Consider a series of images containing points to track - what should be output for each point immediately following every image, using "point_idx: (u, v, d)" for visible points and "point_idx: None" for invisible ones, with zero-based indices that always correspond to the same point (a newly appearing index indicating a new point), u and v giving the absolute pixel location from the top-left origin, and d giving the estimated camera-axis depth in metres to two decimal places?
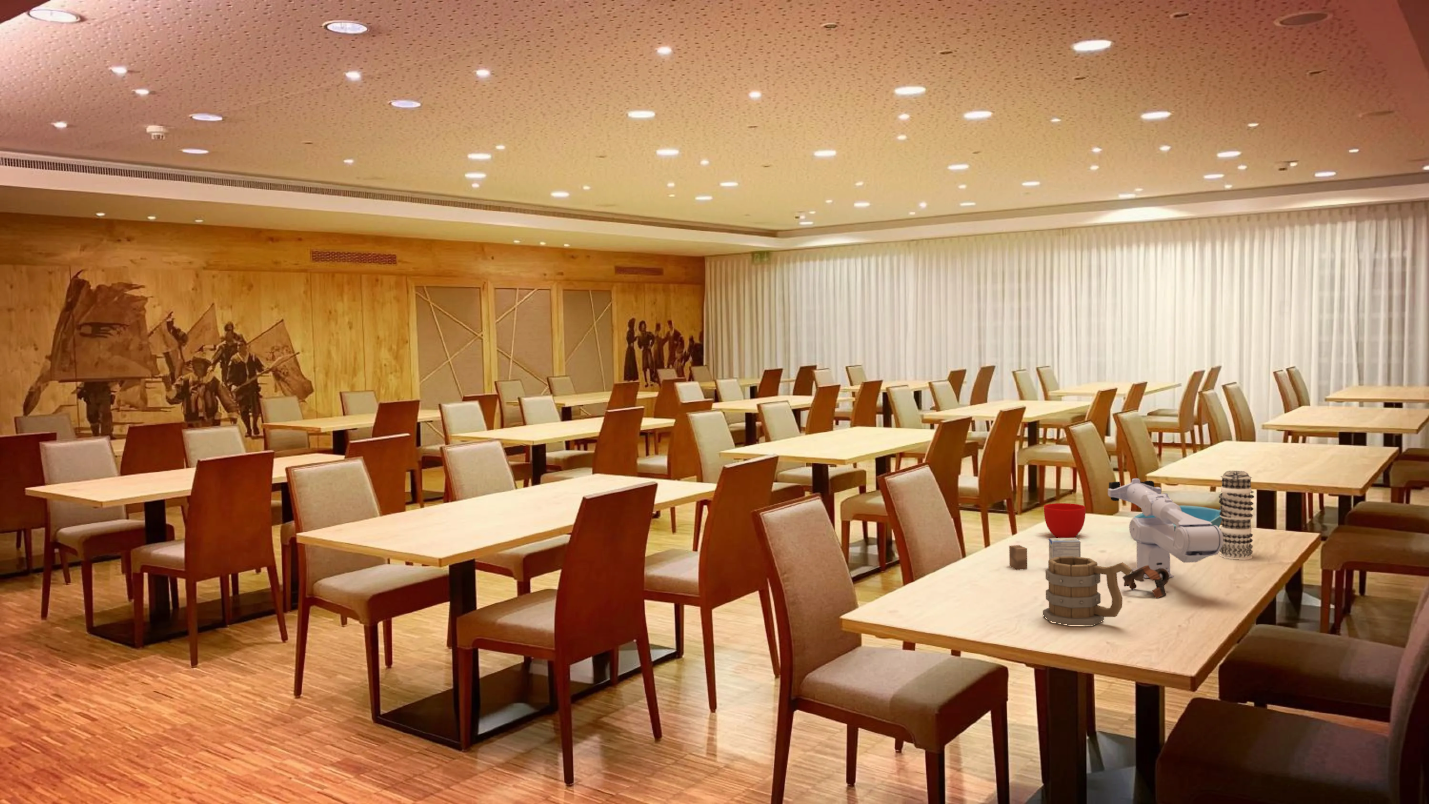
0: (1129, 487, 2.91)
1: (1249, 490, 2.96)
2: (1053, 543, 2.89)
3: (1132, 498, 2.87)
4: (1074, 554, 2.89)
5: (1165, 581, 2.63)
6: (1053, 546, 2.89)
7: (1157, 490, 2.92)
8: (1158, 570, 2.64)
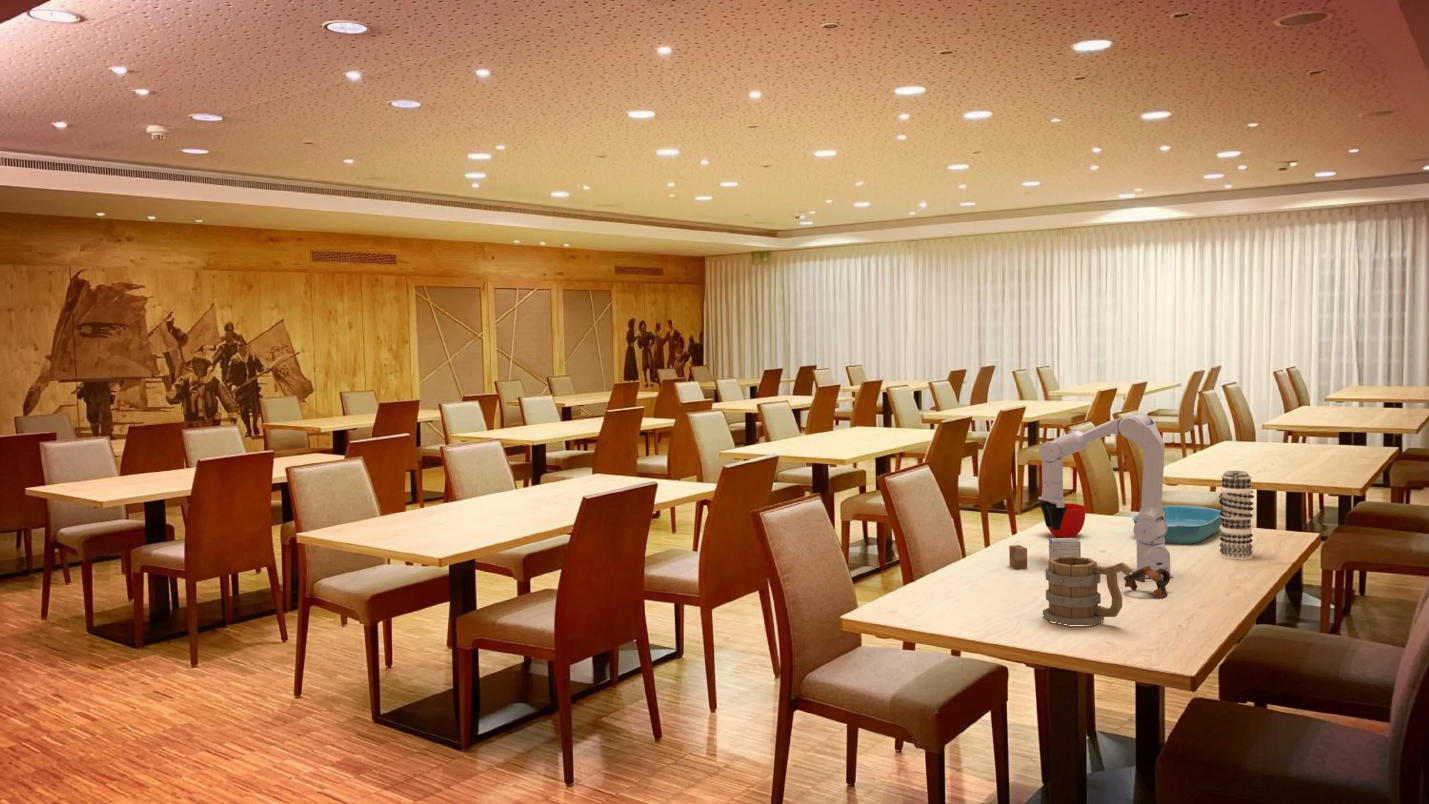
0: (1048, 495, 2.98)
1: (1249, 490, 2.96)
2: (1053, 543, 2.89)
3: (1057, 482, 2.97)
4: (1074, 554, 2.89)
5: (1166, 582, 2.63)
6: (1053, 546, 2.89)
7: None
8: (1159, 571, 2.63)
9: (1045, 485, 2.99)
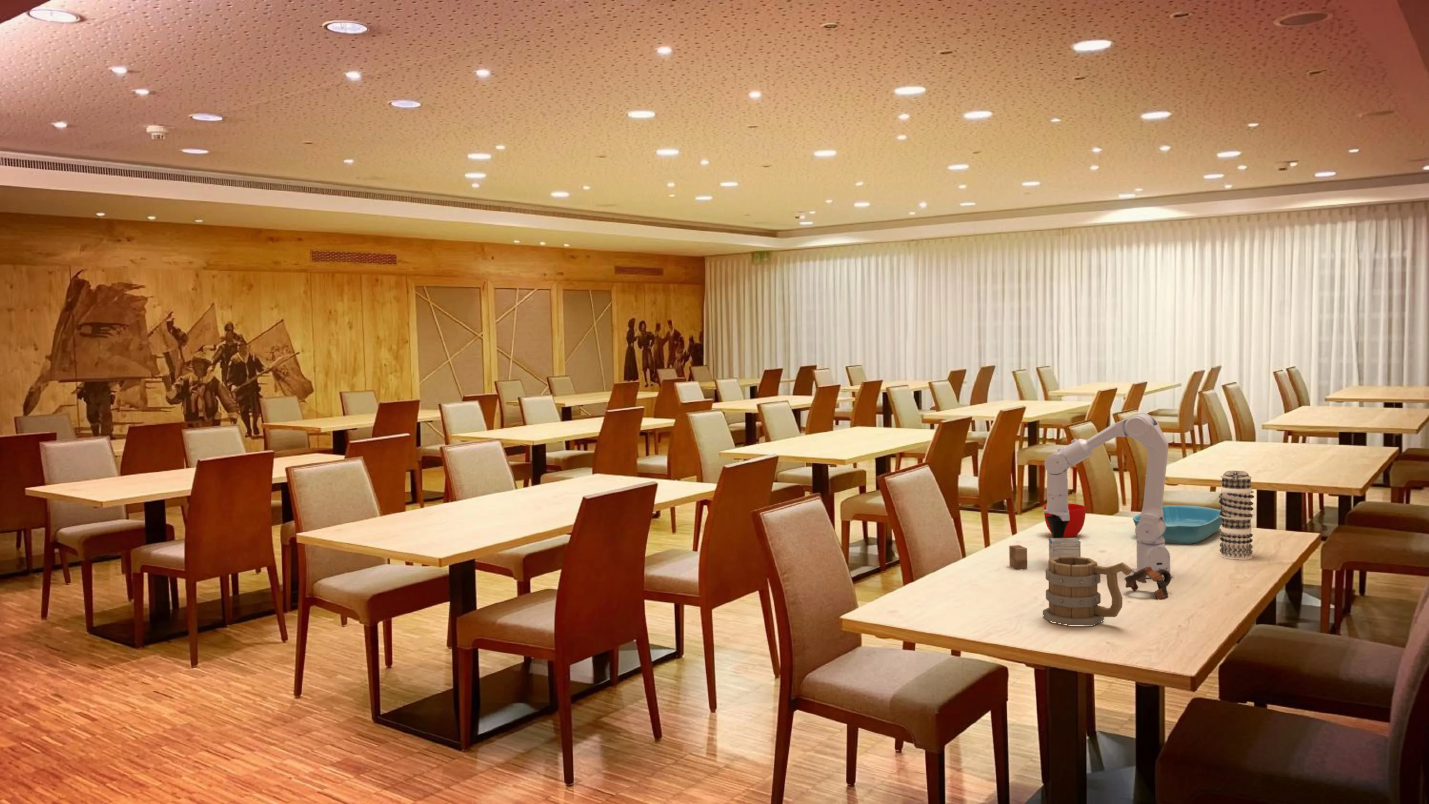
0: (1053, 508, 2.94)
1: (1249, 490, 2.96)
2: (1053, 543, 2.89)
3: (1062, 495, 2.93)
4: (1074, 554, 2.89)
5: (1167, 582, 2.62)
6: (1053, 546, 2.89)
7: None
8: (1160, 571, 2.62)
9: (1050, 498, 2.95)
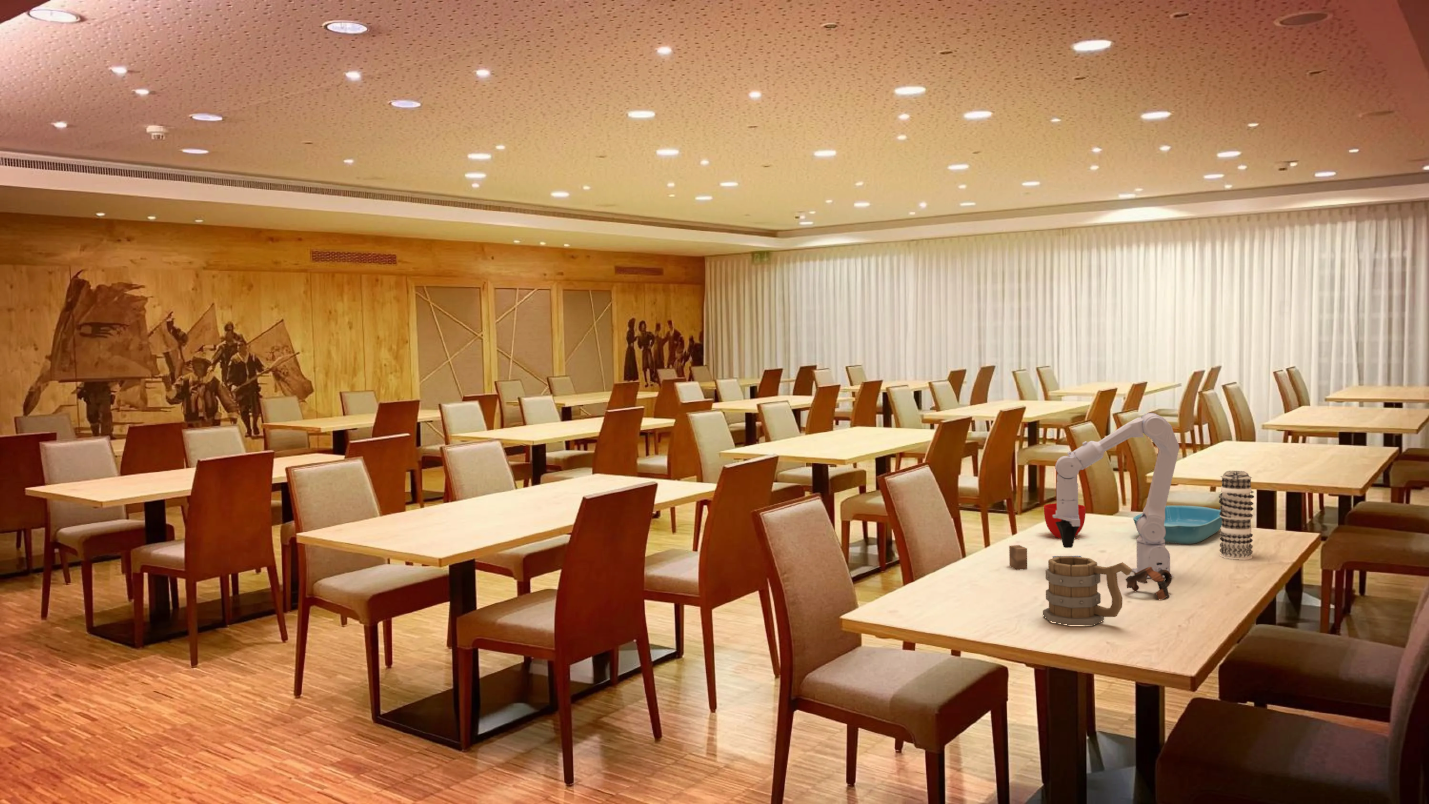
0: (1063, 513, 2.85)
1: (1249, 490, 2.96)
2: None
3: (1072, 500, 2.85)
4: None
5: (1168, 583, 2.61)
6: None
7: None
8: (1161, 572, 2.62)
9: (1060, 502, 2.86)
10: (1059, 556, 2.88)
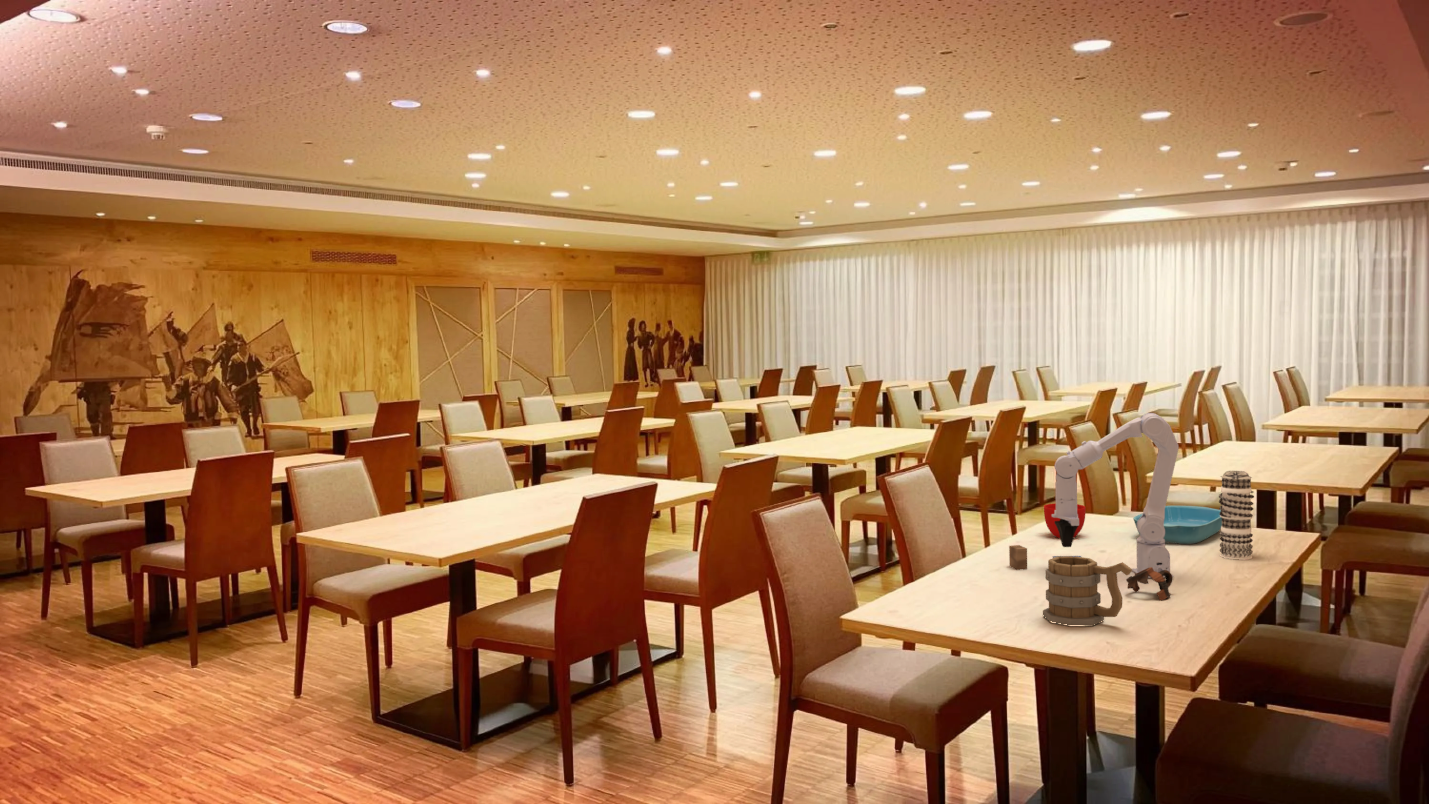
0: (1062, 513, 2.86)
1: (1249, 490, 2.96)
2: None
3: (1071, 499, 2.85)
4: None
5: (1169, 583, 2.61)
6: None
7: None
8: (1162, 572, 2.61)
9: (1059, 502, 2.87)
10: (1059, 556, 2.88)
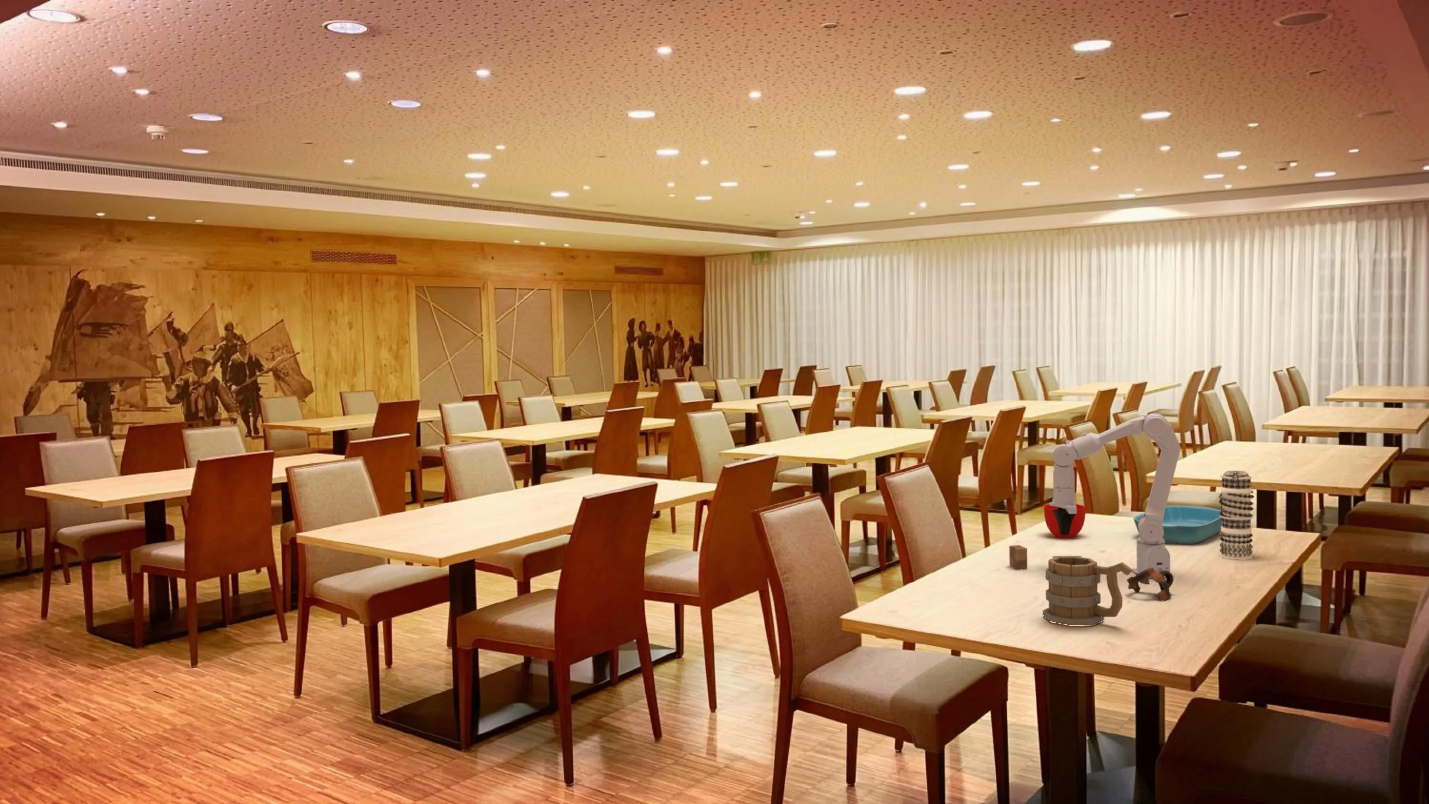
0: (1060, 501, 2.88)
1: (1249, 490, 2.96)
2: None
3: (1068, 487, 2.87)
4: None
5: (1169, 583, 2.61)
6: None
7: None
8: (1162, 572, 2.61)
9: (1056, 490, 2.89)
10: (1059, 556, 2.88)
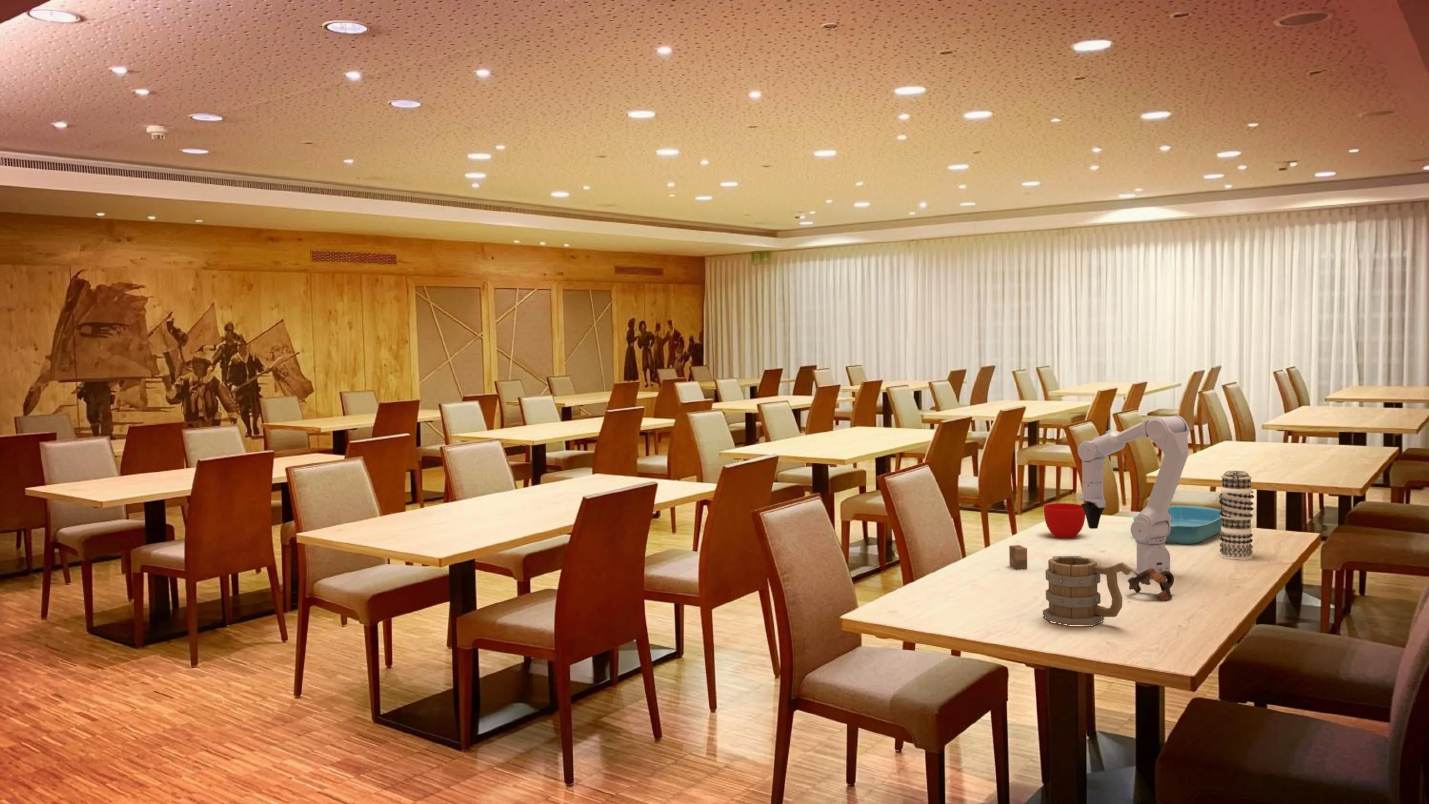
0: (1089, 495, 2.96)
1: (1249, 490, 2.96)
2: None
3: (1097, 482, 2.95)
4: None
5: (1170, 584, 2.60)
6: None
7: None
8: (1163, 573, 2.61)
9: (1085, 485, 2.97)
10: (1059, 556, 2.88)
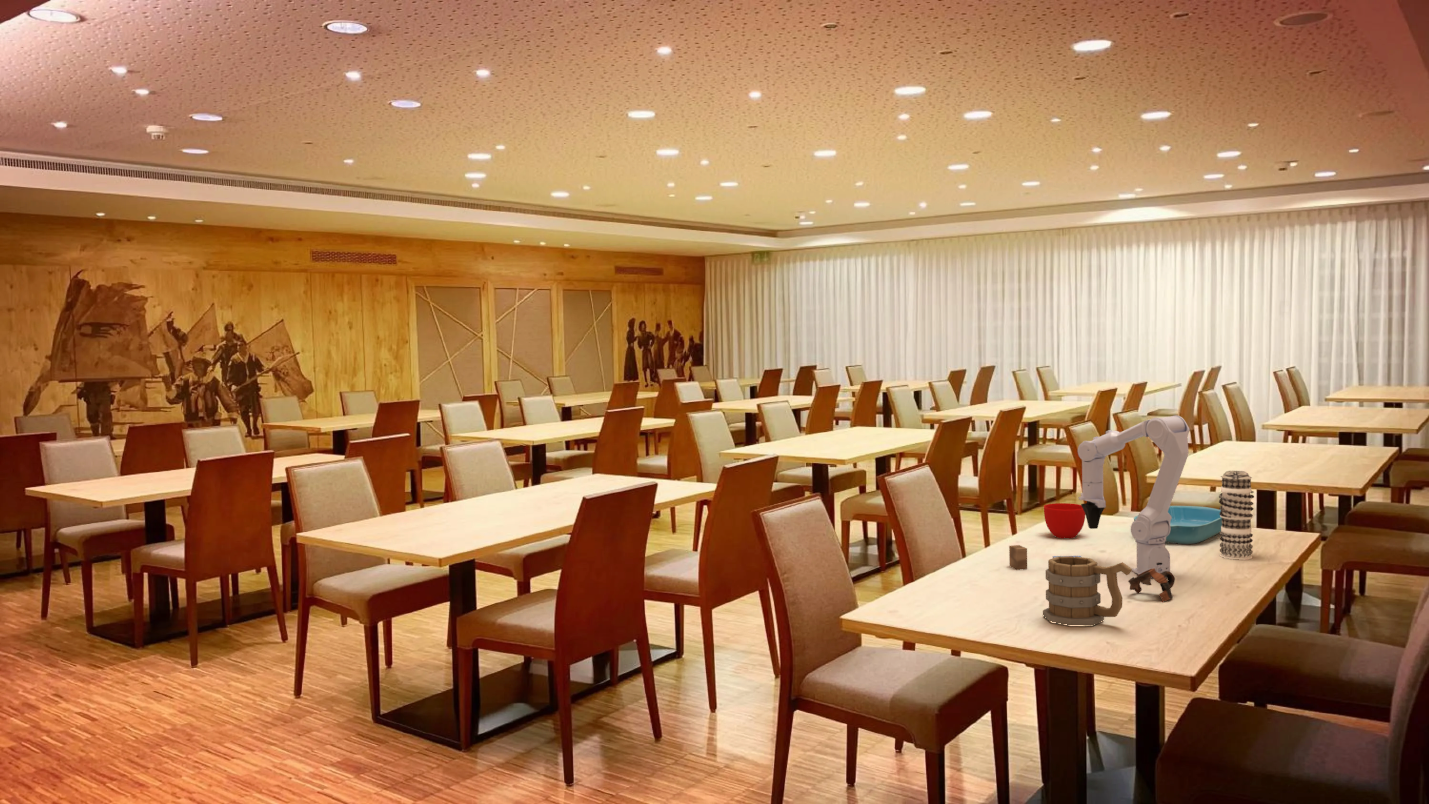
0: (1089, 495, 2.96)
1: (1249, 490, 2.96)
2: None
3: (1097, 482, 2.95)
4: None
5: (1171, 584, 2.60)
6: None
7: None
8: (1164, 573, 2.60)
9: (1085, 485, 2.97)
10: (1059, 556, 2.88)
